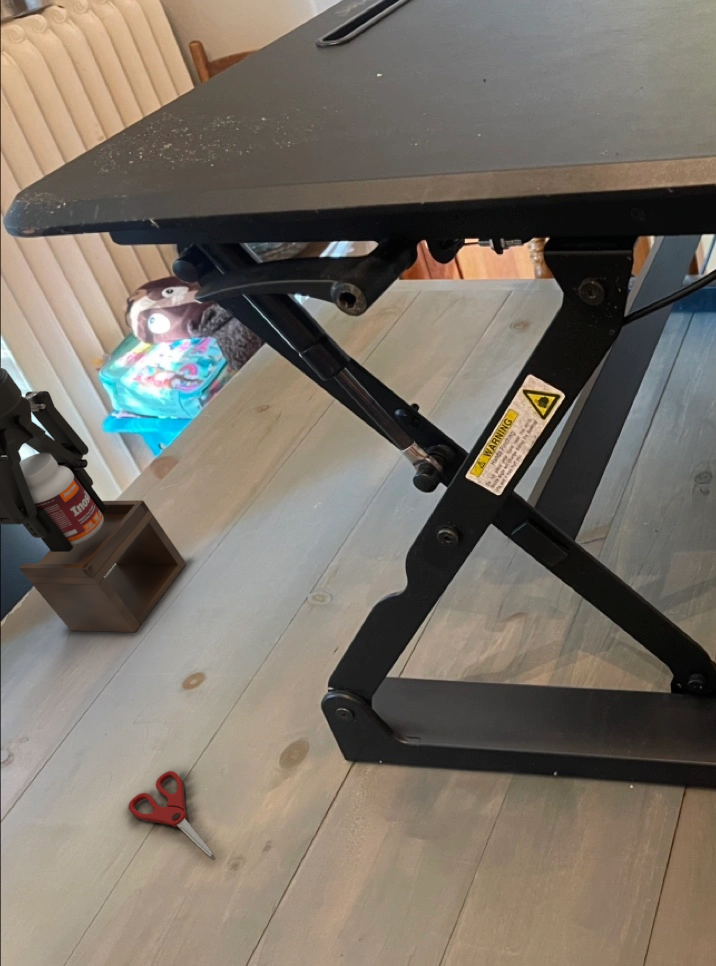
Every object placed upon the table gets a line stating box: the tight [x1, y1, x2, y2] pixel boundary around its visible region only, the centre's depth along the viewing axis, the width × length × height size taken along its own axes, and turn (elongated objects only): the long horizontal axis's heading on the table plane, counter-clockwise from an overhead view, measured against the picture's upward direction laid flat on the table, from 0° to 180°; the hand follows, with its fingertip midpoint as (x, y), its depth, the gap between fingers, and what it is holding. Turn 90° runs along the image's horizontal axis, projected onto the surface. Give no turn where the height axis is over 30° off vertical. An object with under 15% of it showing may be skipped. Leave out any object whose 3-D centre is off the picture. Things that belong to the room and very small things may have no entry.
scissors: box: [128, 770, 213, 858], centre depth 110 cm, size 5×14×1 cm, turn 50°
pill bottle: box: [20, 452, 104, 546], centre depth 130 cm, size 6×6×11 cm
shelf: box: [18, 499, 187, 633], centre depth 137 cm, size 10×12×12 cm
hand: (79, 529), depth 133 cm, fingers closed on pill bottle, 6 cm apart
